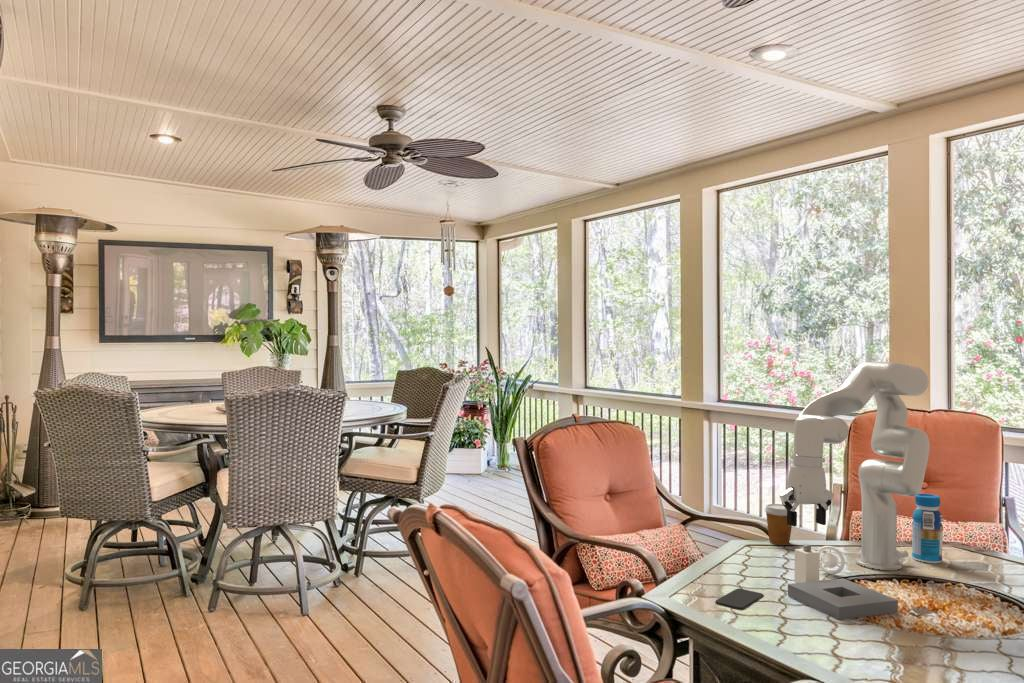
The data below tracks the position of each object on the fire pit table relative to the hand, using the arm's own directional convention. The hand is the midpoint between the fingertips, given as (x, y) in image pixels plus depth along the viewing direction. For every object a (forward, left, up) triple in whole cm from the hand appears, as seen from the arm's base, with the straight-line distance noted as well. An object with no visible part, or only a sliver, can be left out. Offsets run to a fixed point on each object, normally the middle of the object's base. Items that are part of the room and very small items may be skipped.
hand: (806, 524), depth 203 cm
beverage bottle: (-54, -9, -16) cm, 57 cm away
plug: (-1, 0, -16) cm, 16 cm away
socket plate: (+3, +16, -16) cm, 23 cm away
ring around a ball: (-13, -5, -16) cm, 21 cm away
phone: (+25, +6, -17) cm, 31 cm away
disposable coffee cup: (-23, -39, -16) cm, 48 cm away
